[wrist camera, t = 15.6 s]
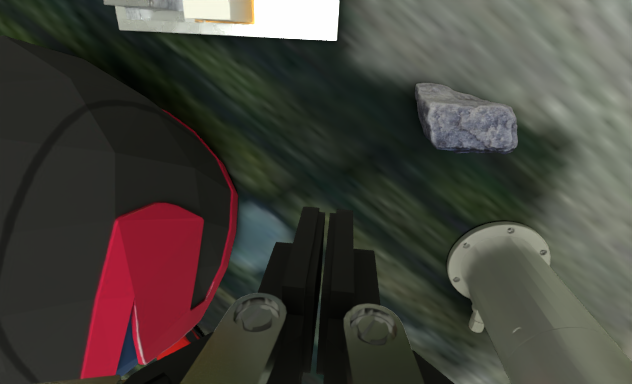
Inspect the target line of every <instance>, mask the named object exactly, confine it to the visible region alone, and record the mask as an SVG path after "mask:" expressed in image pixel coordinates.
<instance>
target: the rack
mask: <svg viewBox="0 0 632 384" xmlns="http://www.w3.org/2000/svg"><path fill="white" fill-rule="evenodd" d="M104 5H112V6H115V9H116V14H117V19H118V25H119V30H131V31H152V32H172V33H193V34H213V35H234V36H254V37H275V38H295V39H316V40H337V38H338V22H339V7H340V0H251V5H252V23H249V22H225V21H209V20H199V19H189V18H185V16H184V8H183V0H104Z"/></svg>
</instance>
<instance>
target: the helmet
mask: <svg viewBox="0 0 632 384" xmlns="http://www.w3.org/2000/svg"><path fill="white" fill-rule="evenodd" d="M237 204H238V194H237V192H236V190H235V188H234V186H233V184H232V181H231V179H230V177H229V175H228V173H227V171H226V168H225V166H224V164H223V163H222V162H221V161H220V160H219V159H218V158H217V156H216V155H215V154H214V153H213V152H212V151H211V150H210V148H209V147H208V146H207V145H206V144H205V143H204V141H203V140H202V139H201V138H200V137H199V136H198V135H197V134H196V132H195V131H193V130H192V129H191V128H189V127H188V126H186V125H185V124H184V123H182V122H181V121H180V120H178V119H177V118H176V117H174V116H173V115H171V114H170V113H169V112H167V111H165V110H163V109H161V108H160V107H158V106H157V105H156V104H154V103H153V102H152V101H150V100H149V99H148V98H146V97H145V96H143V95H141V94H140V93H138V92H136V91H135V90H133V89H131V88H130V87H128V86H127V85H125V84H123V83H122V82H120V81H118V80H117V79H115V78H114V77H112V76H110V75H109V74H107V73H105V72H104V71H102V70H101V69H99V68H97V67H96V66H94V65H92V64H91V63H89V62H87V61H86V60H84V59H82V58H78V57H75V56H71V55H68V54H64V53H61V52H58V51H54V50H51V49H47V48H44V47H41V46H37V45H34V44H30V43H27V42H24V41H20V40H17V39H13V38H10V37H7V36H0V384H34V383H44V382H54V381H63V380H73V379H83V378H92V377H102V376H112V375H120V376H121V377H122V376H123V375H124V374H126V373H127V372H128V371H130V370H131V369H132V368H133V367H135V366H136V365H137V364H138V363H139V364H147V363H149V362H150V361H151V360H153V359H154V358H156V357H157V356H158V355H160V354H161V353H163V352H164V351H165V350H167V349H168V348H170V347H171V346H172V345H174V344H175V343H177V342H178V341H179V340H180V339H181V338H182V337H183V336H185V335H186V334H187V333H188V332H189V331H190V330H191V329H192V328H193V327H194V326H195V325H196V324H197V323H198V322H199V321H200V320H201V318H202V317H203V315H204V313H205V311H206V309H207V308H208V306H209V304H210V302H211V300H212V298H213V297H214V294H215V292H216V290H217V288H218V286H219V284H220V282H221V280H222V277H223V275H224V273H225V271H226V269H227V267H228V263H229V259H230V255H231V251H232V246H233V242H234V238H235V234H236V224H237Z"/></svg>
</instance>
